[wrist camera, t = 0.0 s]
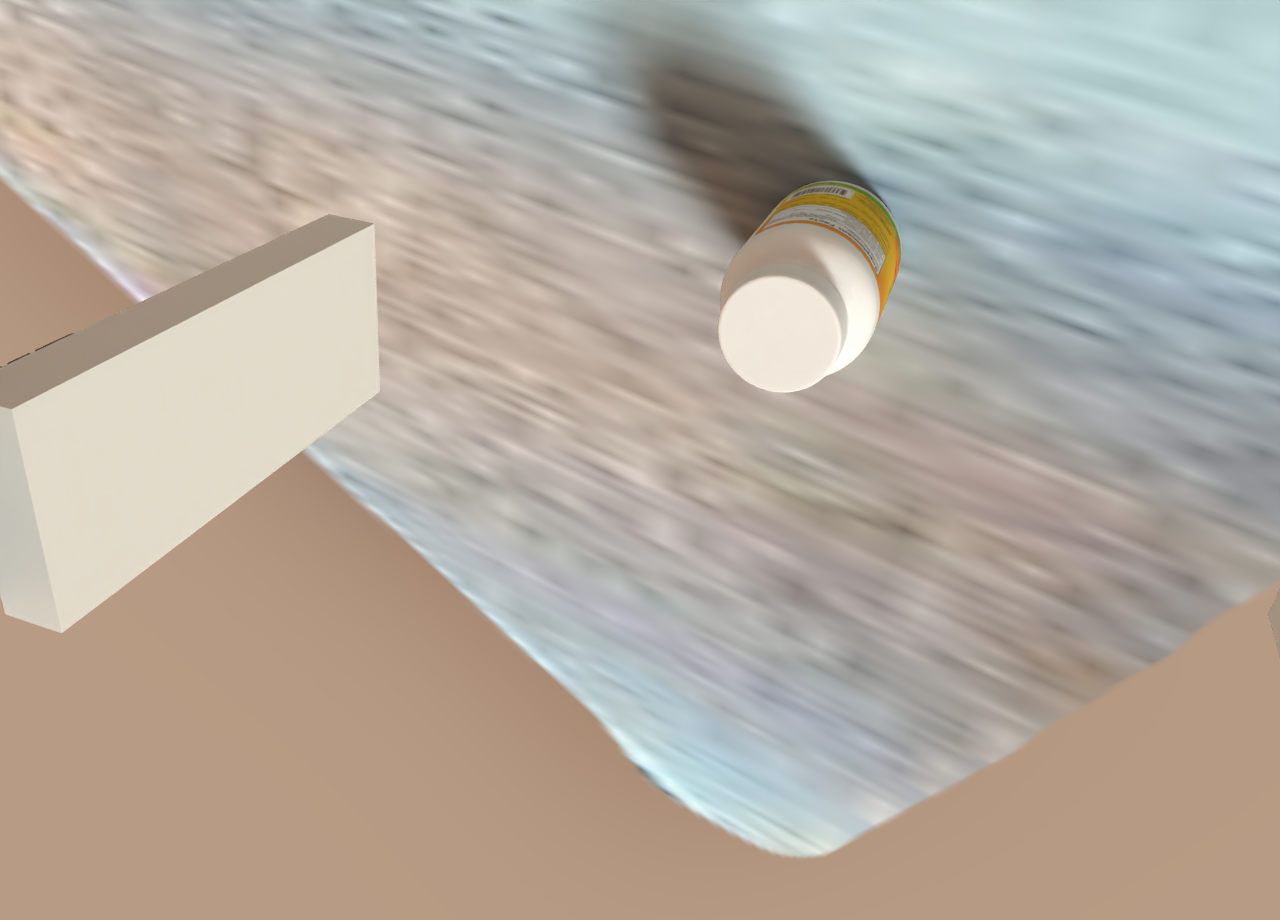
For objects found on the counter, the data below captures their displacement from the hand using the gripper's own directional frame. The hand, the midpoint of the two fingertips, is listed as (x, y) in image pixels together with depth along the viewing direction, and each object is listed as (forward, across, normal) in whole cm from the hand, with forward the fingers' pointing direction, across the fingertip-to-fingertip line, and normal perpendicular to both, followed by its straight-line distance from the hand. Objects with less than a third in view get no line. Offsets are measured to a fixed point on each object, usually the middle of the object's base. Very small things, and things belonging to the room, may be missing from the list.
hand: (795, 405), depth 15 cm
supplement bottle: (+28, -3, -7) cm, 29 cm away
